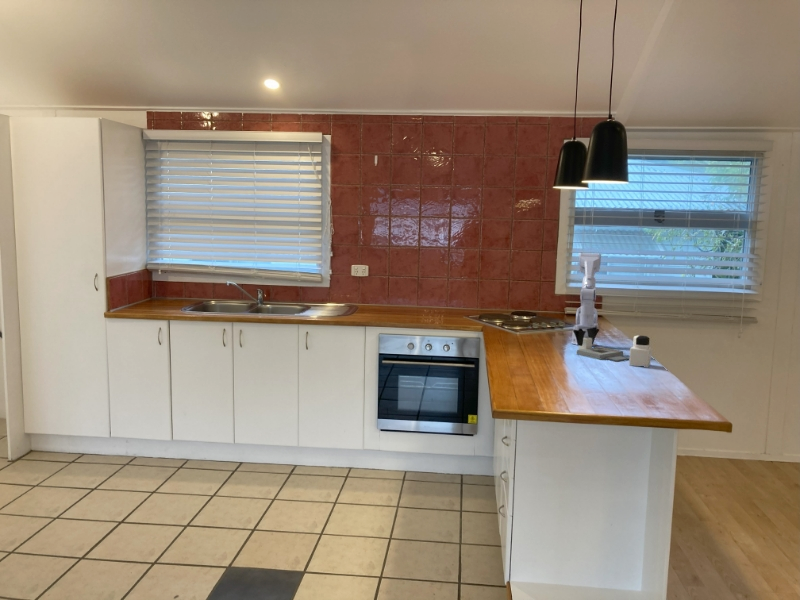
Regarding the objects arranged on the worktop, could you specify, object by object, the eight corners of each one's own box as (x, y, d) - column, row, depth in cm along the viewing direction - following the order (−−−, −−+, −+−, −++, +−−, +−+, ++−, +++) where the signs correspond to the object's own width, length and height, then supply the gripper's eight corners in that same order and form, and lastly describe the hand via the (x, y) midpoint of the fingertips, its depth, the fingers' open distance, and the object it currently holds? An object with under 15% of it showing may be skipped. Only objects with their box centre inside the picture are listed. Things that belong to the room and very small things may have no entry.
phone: (606, 360, 256) (606, 357, 255) (619, 358, 260) (619, 355, 260) (615, 363, 251) (616, 360, 251) (629, 361, 256) (629, 358, 256)
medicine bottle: (650, 364, 248) (652, 335, 246) (647, 367, 241) (649, 338, 240) (632, 362, 251) (633, 333, 250) (628, 365, 245) (630, 336, 244)
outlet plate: (576, 354, 265) (576, 349, 265) (599, 350, 274) (600, 346, 274) (599, 359, 255) (599, 354, 255) (622, 355, 264) (623, 351, 264)
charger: (578, 350, 274) (579, 335, 273) (584, 349, 276) (585, 334, 275) (585, 352, 271) (586, 336, 270) (591, 351, 273) (592, 336, 272)
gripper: (583, 317, 264) (582, 347, 266) (604, 315, 272) (603, 344, 274) (570, 315, 270) (569, 344, 271) (591, 313, 278) (590, 342, 280)
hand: (585, 344), depth 273 cm, fingers open, 7 cm apart
